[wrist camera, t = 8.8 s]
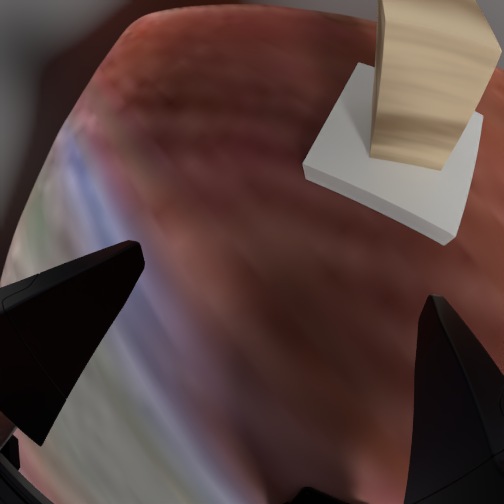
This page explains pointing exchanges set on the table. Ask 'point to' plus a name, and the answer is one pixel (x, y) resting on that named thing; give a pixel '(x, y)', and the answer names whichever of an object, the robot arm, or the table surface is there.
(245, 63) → the table surface
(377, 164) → the tile base
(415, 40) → the oak block
